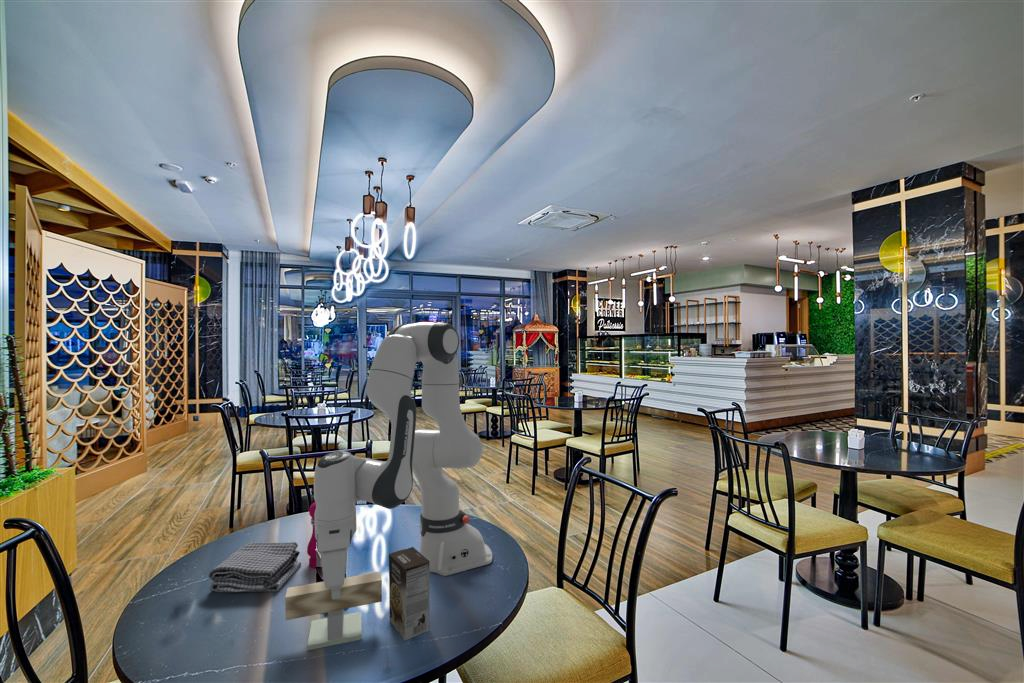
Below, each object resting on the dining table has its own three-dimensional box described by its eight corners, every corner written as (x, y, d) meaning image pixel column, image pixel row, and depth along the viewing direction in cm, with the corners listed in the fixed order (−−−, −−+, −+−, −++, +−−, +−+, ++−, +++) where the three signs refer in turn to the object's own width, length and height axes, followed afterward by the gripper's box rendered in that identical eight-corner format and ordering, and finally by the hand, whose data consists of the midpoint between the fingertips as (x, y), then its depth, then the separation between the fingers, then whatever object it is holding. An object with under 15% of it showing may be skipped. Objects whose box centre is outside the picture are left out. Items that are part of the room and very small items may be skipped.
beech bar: (380, 592, 108) (380, 571, 108) (381, 601, 104) (381, 580, 104) (287, 609, 101) (287, 587, 101) (285, 620, 98) (285, 597, 98)
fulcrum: (361, 615, 109) (361, 590, 109) (361, 639, 100) (361, 612, 100) (311, 624, 106) (311, 599, 105) (307, 650, 97) (307, 622, 97)
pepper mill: (324, 570, 130) (323, 501, 130) (301, 567, 131) (301, 499, 131) (338, 558, 137) (338, 492, 137) (317, 555, 139) (316, 490, 138)
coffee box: (388, 621, 107) (387, 553, 107) (413, 611, 111) (413, 545, 111) (404, 642, 100) (403, 569, 99) (430, 630, 103) (430, 560, 103)
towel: (242, 565, 133) (242, 539, 133) (304, 566, 133) (304, 539, 133) (206, 595, 118) (206, 565, 118) (276, 596, 118) (276, 566, 118)
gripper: (324, 509, 112) (325, 565, 112) (316, 548, 92) (318, 615, 93) (351, 506, 114) (352, 560, 114) (349, 543, 94) (351, 608, 95)
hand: (337, 585), depth 103 cm, fingers open, 8 cm apart
